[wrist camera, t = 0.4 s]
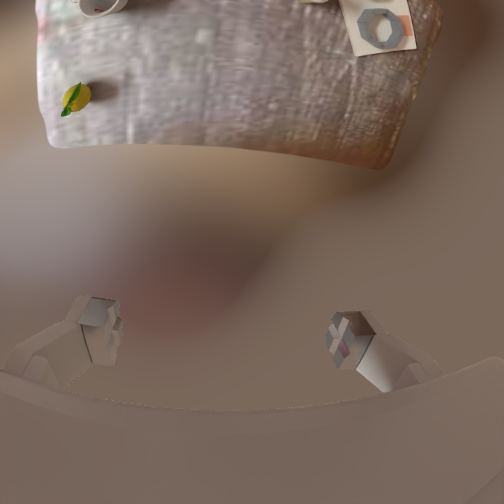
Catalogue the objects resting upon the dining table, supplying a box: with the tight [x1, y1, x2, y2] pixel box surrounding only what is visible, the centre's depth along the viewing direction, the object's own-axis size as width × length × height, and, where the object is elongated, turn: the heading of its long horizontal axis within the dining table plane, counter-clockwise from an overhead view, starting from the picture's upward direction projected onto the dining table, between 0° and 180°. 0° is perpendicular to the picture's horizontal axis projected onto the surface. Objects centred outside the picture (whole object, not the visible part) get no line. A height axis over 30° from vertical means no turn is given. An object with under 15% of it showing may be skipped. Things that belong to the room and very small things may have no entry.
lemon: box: [61, 82, 91, 116], centre depth 38 cm, size 7×6×10 cm
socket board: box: [338, 0, 416, 56], centre depth 31 cm, size 24×16×4 cm, turn 20°
